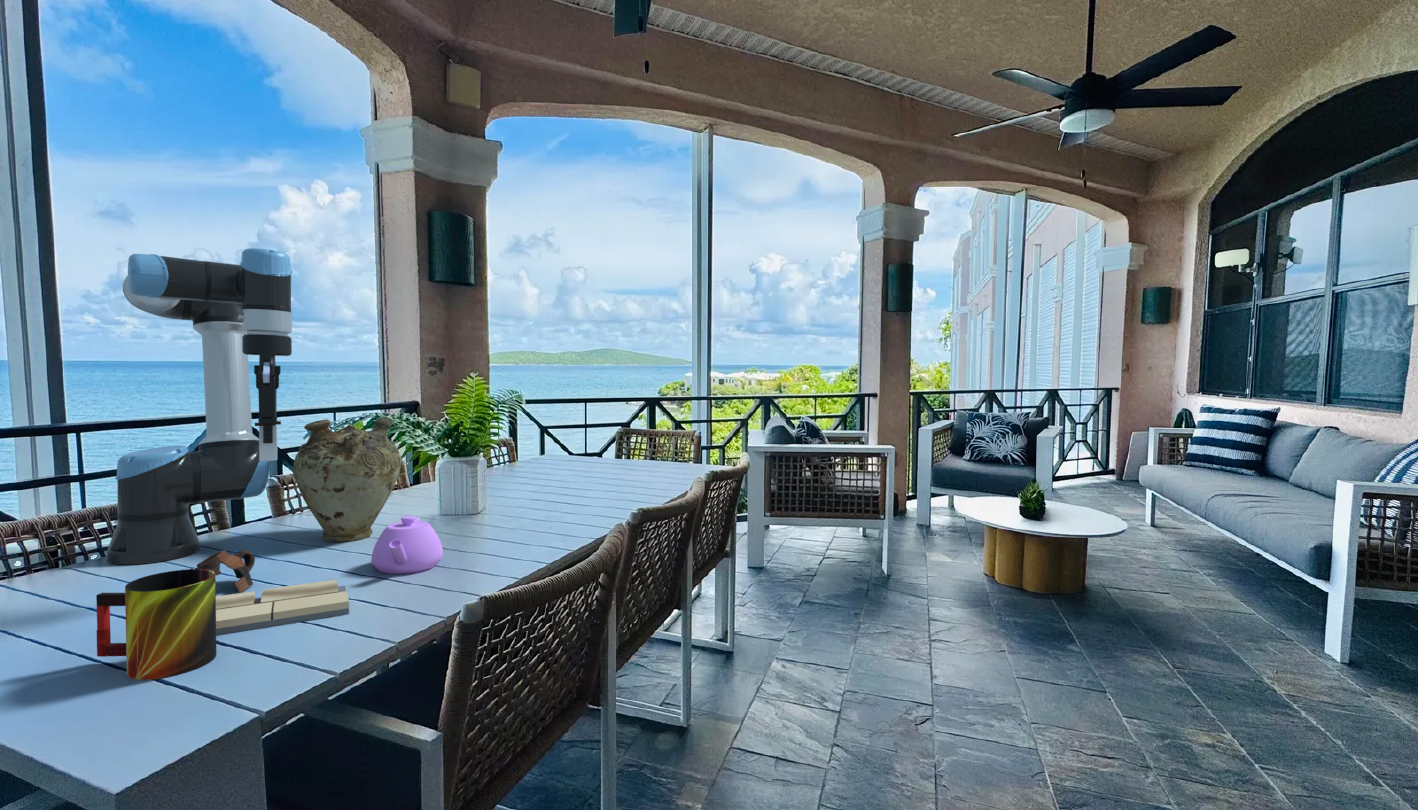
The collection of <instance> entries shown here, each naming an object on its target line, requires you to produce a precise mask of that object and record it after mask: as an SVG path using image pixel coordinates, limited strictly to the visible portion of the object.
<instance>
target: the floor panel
mask: <svg viewBox="0 0 1418 810" xmlns="http://www.w3.org/2000/svg"><path fill="white" fill-rule="evenodd" d="M337 586H338V585H337ZM261 597H262V596H260V597H255V603H254V605H247V606H240V607H233V608H226V609H219V610H216V636H219V635H226V634H233V633H238V632H244V631H250V630H257V629H262V628H263V629H265V628H268V627H269V628H270V627H275V626H282V625H287V624H292V623H293V624H294V623H295V624H296V623H300V622H307V621H312V620H319V619H325V618H332V617H338V616H343V615H349V614H350V599H349V593H348V591H347V590H346V585H340V586H338V592H337V593H330V594H323V595H316V596H309V597H302V598H295V599H288V600H281V601H275V602H274V607H273V608H272V602H268V603H261Z"/></svg>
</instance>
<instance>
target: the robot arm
mask: <svg viewBox="0 0 1418 810" xmlns="http://www.w3.org/2000/svg"><path fill="white" fill-rule="evenodd" d="M291 264H292V263H291V257H290V256H289V254H288V253H287V252H283V251H280V250H274V249H268V248H258V247H256V248H255V247H254V248H250V247H249V248H246V249H244V250H242V251H241V262H240V264H233V263H227V262H216V261H208V260H207V261H206V260H197V259H189V258H181V257H171V256H165V255H164V256H163V255H159V254H156V253H155V254H153V253H150V254H146V253H132V254H131V255H129V257H128V262H127V275H126V276H125V278H124V280H123V282H122V292H123V295H124V297H125V298H126V300H127V301H128V302H129V303H130V304H131V305H132V306H133V307H135V308H136V309H138V310H140V311H143V312H145V313H148V314H150V315H153V316H156V317H161V318H165V319H171V320H180V321H192V328H193V330H194V331H195V332H196V333H198V334H199V335H200V336H201V344H202V361H203V365H202V367H203V385H204V387H203V389H204V408H205V409H204V410H205V428H206V429H205V430H206V436H205V437H204V438H203V439H202V440H201V441H200V442H199V443H198V451H190V450H189V448H188V447H187V446H186V445H172V446H161V447H153V448H147V449H142V450H141V449H140V450H136V451H133V452H129V453H125V454H124V455H122V456H120V458H119V459H118V460H117V463H116V465H117V466H116V476H115V480H116V481H117V495H116V496H117V525H116V527H115V530H114V532H113V534H112V537H111V540H110V542H109V545H108V547H107V550H106V562H108V563H110V564H115V565H140V564H151V563H157V562H164V561H170V560H176V559H179V558H184V557H187V556H190V555H191V554H195V553H196V552H198V551H199V550H200V539H199V537H198V534H197V532H196V529H195V527H194V526H193V523H192V521H191V518H190V516H189V505H190V504H201V503H210V502H211V503H212V502H218V501H219V502H220V501H230V500H242V499H248V498H254V497H258V496H260V495H261V494H263V492H264V491H265V490H266V488H267V484H268V481H269V477H270V471H271V462H272V461H273V462H274V461H277V460H278V425H282V420H278V416H277V390H278V389H279V388H280V375H281V365H276V356H277V357H288V356H289V357H290V356H291V355H292V351H293V350H292V349H293V348H292V338H291V336H289V334H291V333H292V331H293V329H292V328H293V326H292V325H293V315H292V274H293V270H292V265H291ZM249 356H259V359H258V360H259V361H258V363H259V364H258V365H257V364H254V366H253V370H254V371H253V373H254V375H255V387H256V390H258V393H257V394H258V419H257V421H258V422H254V427H258V437H257V436H256V435H255V434H254V433H253V426H252V424H253V423H252V420H253V419H252V403H251V401H252V400H251V387H250V386H251V385H250V370H249V369H250V368H249Z"/></svg>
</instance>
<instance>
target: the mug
mask: <svg viewBox="0 0 1418 810" xmlns="http://www.w3.org/2000/svg"><path fill="white" fill-rule="evenodd" d="M216 585H217V583H216V575H215V572H213V571H211V570H205V569H195V568H193V569H191V568H188V569H187V568H186V569H179V570H178V569H177V570H172V571H171V570H169V571H163V572H159V573H154V574H150V575H145V576H142V577H139V578H136V579H134V580H131V581H130V582H128V583H127V584H126V585H125V586H124V592H100V593H98V594H96V657H97V658H98V657H105V658H106V657H126V675H127V677H128V678H130V679H134V680H139V681H148V680H150V681H152V680H159V679H166V678H171V677H176V676H180V675H184V674H186V673H189V672H190V673H191V672H192V671H195V670H198V669H200V668H203V667H204V666H206V665H208V664H210V663H211V662H213V660H215V659H216V657H217V635H216V596H217V595H216V594H217V593H216V592H217V591H216V590H217V589H216V588H217V587H216ZM111 607H125V642H111V639H112V638H111Z"/></svg>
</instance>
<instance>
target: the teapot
mask: <svg viewBox="0 0 1418 810" xmlns="http://www.w3.org/2000/svg"><path fill="white" fill-rule="evenodd" d="M400 520H401V521H398V522H393V523H389V524H388V525H387V526H386V527H385V528H384V529H383V531H382V532H381V534H380V535H379V537H378V539H377V540H376V542H375V544H374V547H373V549H372V553H371V563H372V565H373V567H375V568H376V570H378V571H379V572H380V573H382V574H383V573H384V574H391V575H403V574H404V575H405V574H407V575H409V574H414V573H420V572H424V571H427V569H428V570H430V569H432V568H434V567H436V566H437V565H438V563H439V562H440V561H441V560H442V558H443V555H444V550H443V544H442V542H441V541H442V540H440V537H439V535H438V534H437V532H436V530H435V529H434V528H433V526H432V525H431V524H430V523H429V522H428V521H425V520H421V518H420V516H419V517H418V516H413V515H405V516H402V517H400Z"/></svg>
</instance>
